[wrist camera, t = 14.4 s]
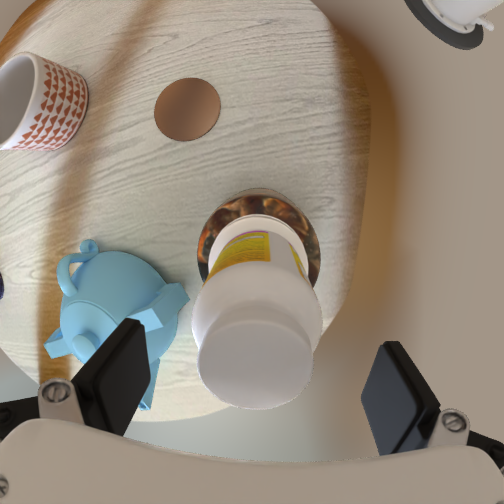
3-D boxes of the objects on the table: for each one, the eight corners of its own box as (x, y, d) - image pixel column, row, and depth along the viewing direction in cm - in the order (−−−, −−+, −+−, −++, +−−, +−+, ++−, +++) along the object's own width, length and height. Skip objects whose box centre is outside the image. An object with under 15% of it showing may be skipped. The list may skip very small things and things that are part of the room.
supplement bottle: (203, 282, 23) (149, 383, 11) (243, 212, 22) (216, 259, 9) (273, 319, 24) (278, 439, 12) (316, 255, 22) (371, 343, 10)
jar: (198, 244, 38) (162, 283, 24) (248, 170, 35) (238, 165, 21) (270, 292, 39) (274, 354, 25) (322, 223, 37) (358, 253, 22)
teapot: (73, 318, 42) (28, 358, 29) (94, 219, 38) (34, 239, 24) (167, 369, 44) (141, 427, 31) (208, 275, 39) (183, 322, 26)
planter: (49, 168, 36) (-7, 171, 23) (22, 116, 33) (-27, 110, 21) (103, 105, 33) (50, 86, 21) (70, 57, 31) (23, 35, 19)
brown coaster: (223, 78, 32) (223, 77, 32) (217, 142, 35) (216, 141, 34) (159, 80, 32) (158, 79, 32) (152, 141, 35) (150, 140, 34)
